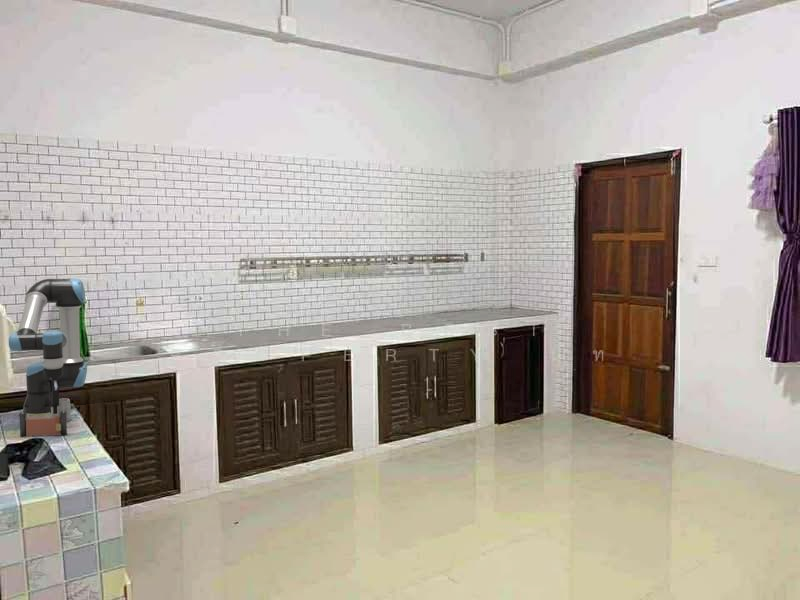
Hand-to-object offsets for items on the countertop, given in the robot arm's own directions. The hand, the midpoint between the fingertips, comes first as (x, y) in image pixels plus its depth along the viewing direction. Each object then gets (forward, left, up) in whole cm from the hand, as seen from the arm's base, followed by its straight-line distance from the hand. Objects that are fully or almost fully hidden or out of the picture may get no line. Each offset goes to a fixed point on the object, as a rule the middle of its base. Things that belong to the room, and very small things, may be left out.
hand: (55, 420), depth 286 cm
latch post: (+4, +5, -6) cm, 8 cm away
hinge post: (+4, -12, -6) cm, 13 cm away
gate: (+4, -3, -5) cm, 7 cm away
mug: (-17, -2, -6) cm, 18 cm away
